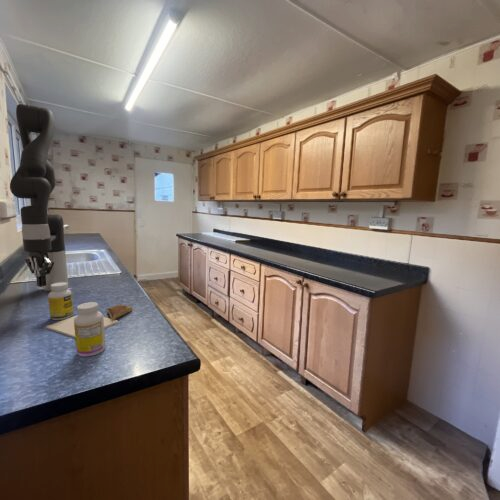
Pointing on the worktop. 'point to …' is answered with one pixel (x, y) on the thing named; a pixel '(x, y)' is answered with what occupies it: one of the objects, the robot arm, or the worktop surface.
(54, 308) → the pill bottle
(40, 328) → the worktop surface
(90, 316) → the supplement bottle
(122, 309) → the shard
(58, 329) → the mat
